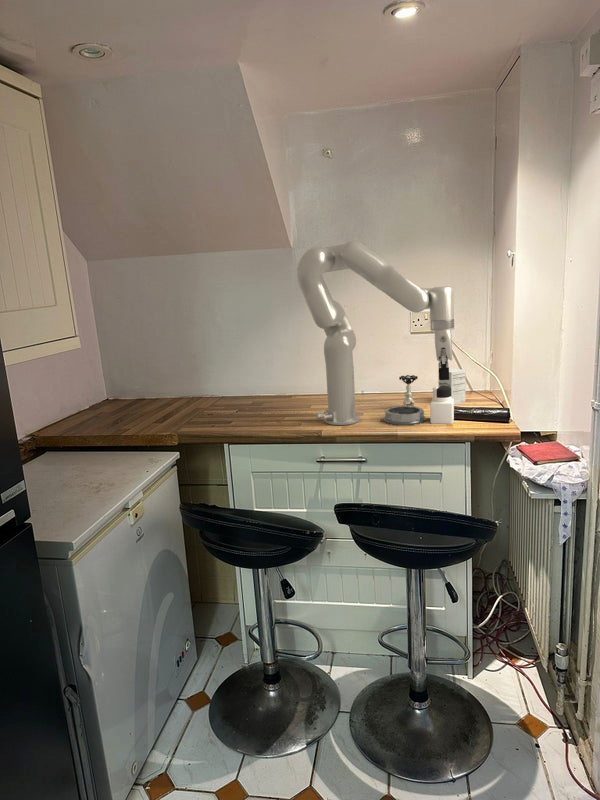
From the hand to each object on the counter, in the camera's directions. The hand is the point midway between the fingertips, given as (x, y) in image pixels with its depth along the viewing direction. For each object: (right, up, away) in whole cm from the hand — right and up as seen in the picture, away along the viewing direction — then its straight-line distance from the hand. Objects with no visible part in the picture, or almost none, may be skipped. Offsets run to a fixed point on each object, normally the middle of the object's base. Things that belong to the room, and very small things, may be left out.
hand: (443, 377), depth 190 cm
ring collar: (-12, -15, +7) cm, 20 cm away
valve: (-7, -11, +24) cm, 27 cm away
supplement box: (+10, -9, +29) cm, 32 cm away
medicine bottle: (0, -15, +3) cm, 15 cm away
